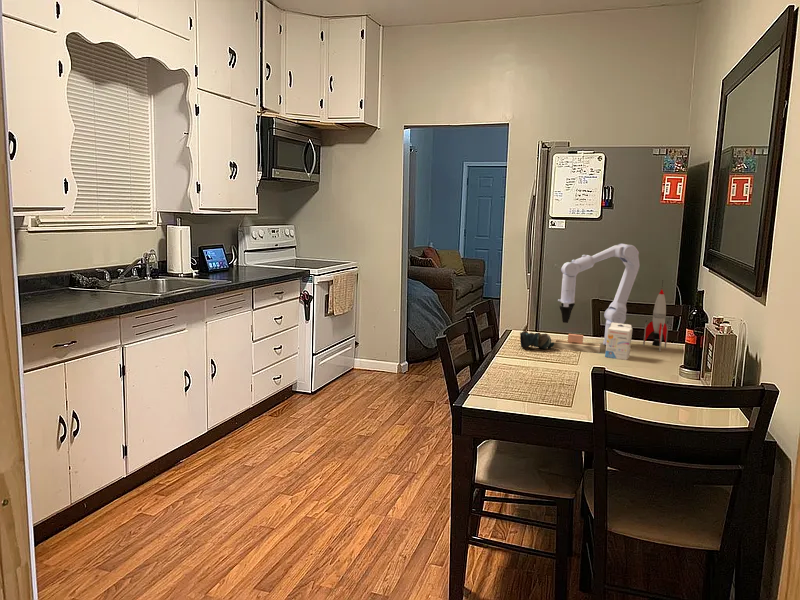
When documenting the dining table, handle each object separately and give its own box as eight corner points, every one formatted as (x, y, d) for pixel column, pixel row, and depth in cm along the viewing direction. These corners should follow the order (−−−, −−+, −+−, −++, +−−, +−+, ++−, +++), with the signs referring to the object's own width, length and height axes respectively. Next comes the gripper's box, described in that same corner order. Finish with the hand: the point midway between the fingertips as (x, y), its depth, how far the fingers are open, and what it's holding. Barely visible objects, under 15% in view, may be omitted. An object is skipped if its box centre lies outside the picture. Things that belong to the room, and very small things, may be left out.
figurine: (516, 331, 260) (552, 329, 259) (518, 351, 259) (553, 348, 258) (518, 330, 252) (555, 327, 250) (519, 350, 251) (557, 348, 249)
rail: (599, 349, 258) (600, 343, 258) (599, 353, 251) (599, 347, 251) (551, 344, 264) (551, 338, 264) (549, 347, 258) (550, 342, 258)
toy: (665, 347, 266) (672, 279, 261) (671, 352, 258) (679, 281, 253) (642, 346, 267) (648, 278, 262) (648, 350, 258) (655, 280, 254)
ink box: (604, 357, 245) (607, 324, 243) (608, 352, 253) (610, 321, 250) (627, 360, 241) (630, 326, 239) (630, 355, 249) (633, 323, 247)
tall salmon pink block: (582, 347, 258) (583, 335, 257) (582, 348, 256) (583, 336, 255) (567, 346, 260) (568, 333, 259) (567, 347, 258) (568, 334, 257)
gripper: (560, 287, 272) (558, 317, 275) (557, 291, 259) (554, 322, 261) (576, 288, 270) (574, 318, 272) (574, 292, 257) (572, 324, 259)
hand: (565, 321), depth 266 cm, fingers open, 7 cm apart
